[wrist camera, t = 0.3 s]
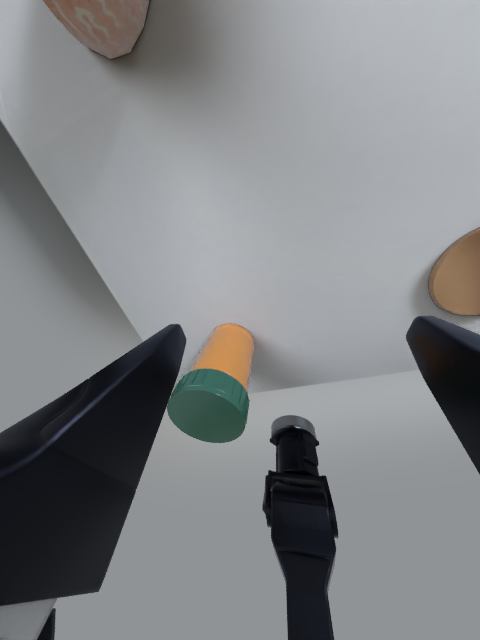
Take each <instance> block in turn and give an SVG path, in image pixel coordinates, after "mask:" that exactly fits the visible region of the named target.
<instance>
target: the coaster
mask: <svg viewBox="0 0 480 640" xmlns="http://www.w3.org/2000/svg"><path fill="white" fill-rule="evenodd" d="M429 293H430V296H431V298H432V300H433V301H434V302H435V303H436V304H437V305H438V306H439V307H441V308H442V309H444V310H446V311H448V312H451V313H454V314H459V315H478V314H480V227H479V228H477V229H475V230H473V231H471V232H469V233H467V234H466V235H464V236H463V237H461V238H460V239H459V240H457V241H456V242H455V243H453V244H452V245H451V246H450V247H449V248H448V249H447V250H446V251H445V252H444V253H443V254H442V255H441V257H440V258H439V259H438V261H437V262H436V264H435V266H434V267H433V270H432V272H431V275H430V278H429Z"/></svg>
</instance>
